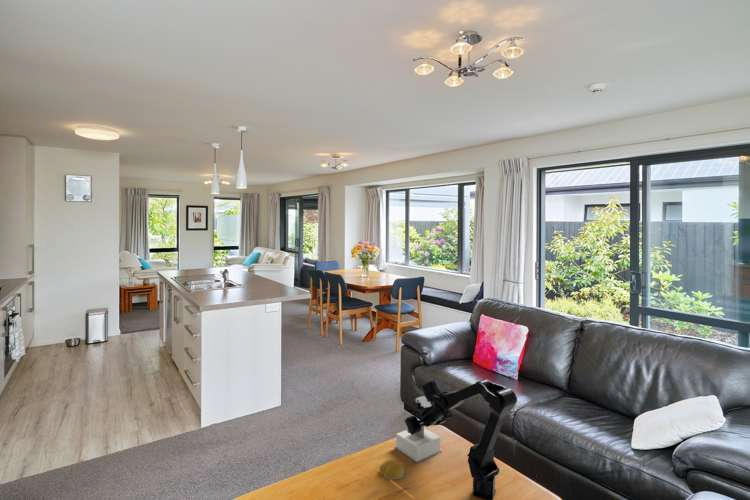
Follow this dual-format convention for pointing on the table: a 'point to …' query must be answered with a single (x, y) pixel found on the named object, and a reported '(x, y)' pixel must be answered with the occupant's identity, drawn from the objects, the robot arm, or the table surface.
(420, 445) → the cover
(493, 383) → the robot arm
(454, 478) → the table surface
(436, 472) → the table surface
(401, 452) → the mat
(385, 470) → the bread roll
